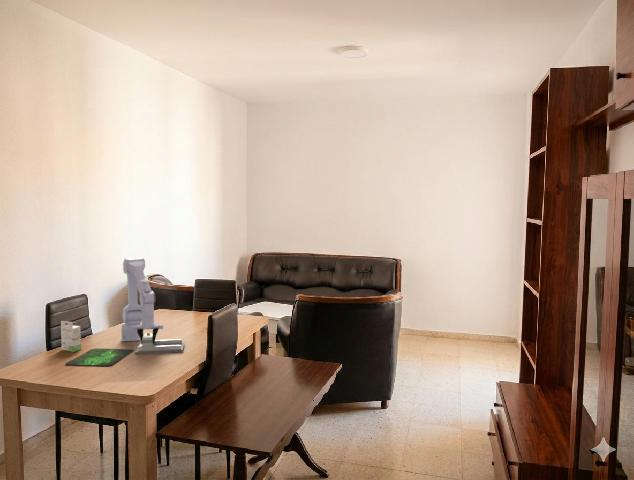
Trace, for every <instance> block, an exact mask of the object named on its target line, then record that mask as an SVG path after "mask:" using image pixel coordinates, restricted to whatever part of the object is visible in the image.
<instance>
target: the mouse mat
mask: <svg viewBox="0 0 634 480" xmlns="http://www.w3.org/2000/svg"><path fill="white" fill-rule="evenodd" d="M134 351H135V349H133V348H132V349H130V348H91V349H90V350H88V351H86V352H84V353H82V354H81V355H78V356H77V357H75V358H73V359H71V360H69V361H66V363H65V365H66V366H69V365H76V366H77V367H78V366H79V367H81V366H82V367H111V366H114V365H115V364H117V363H118V362H120V361H121V360H123V359H124V358H126V357H127V356H129V355H130V354H131V353H133V352H134ZM110 352H111V353H110Z"/></svg>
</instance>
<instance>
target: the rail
mask: <svg viewBox="0 0 634 480" xmlns="http://www.w3.org/2000/svg"><path fill="white" fill-rule="evenodd" d="M182 343H183V339H182V338H178V339H174V338H173V339H157V340H156V339H155V343H154V345H160V344H182ZM139 345H140V346H139ZM139 345H138V346H139V347H138V346H137V348H138V351H158V350H179V349H181V345H167V346H145V347H143V346H142V343H141V342H140V343H139Z"/></svg>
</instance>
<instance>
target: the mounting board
mask: <svg viewBox="0 0 634 480" xmlns="http://www.w3.org/2000/svg"><path fill="white" fill-rule="evenodd" d="M167 345H181V349H179V350H158V351H138V347H139V346H140V344H138V346H137V348H136V349H135V355H151V354H154V355H155V354H169V353H170V354H172V353H184V347H185V342H182V344H160V345H154V346H167Z"/></svg>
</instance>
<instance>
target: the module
mask: <svg viewBox="0 0 634 480" xmlns="http://www.w3.org/2000/svg"><path fill="white" fill-rule="evenodd" d="M142 346H143V347H145V346H154V344H153V332H152V333H151V331H148V332H146V333H143V337H142Z"/></svg>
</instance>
